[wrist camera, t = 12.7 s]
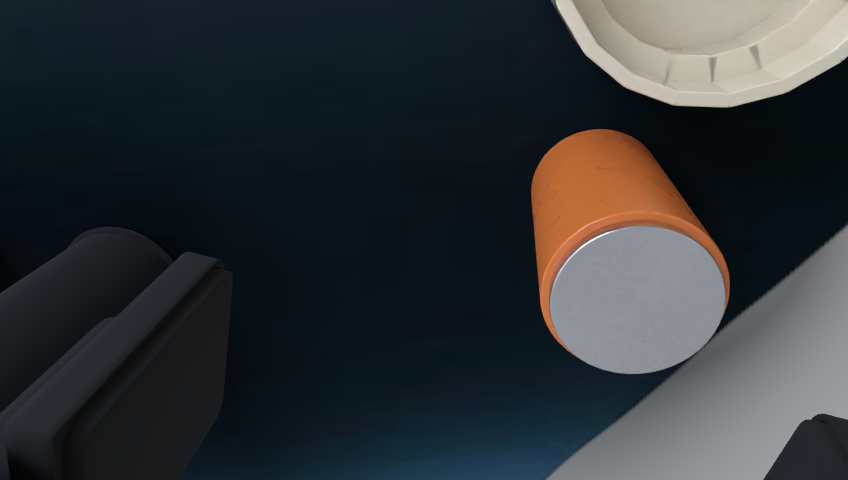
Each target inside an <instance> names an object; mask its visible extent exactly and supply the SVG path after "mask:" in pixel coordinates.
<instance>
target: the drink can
mask: <svg viewBox="0 0 848 480" xmlns="http://www.w3.org/2000/svg"><path fill="white" fill-rule="evenodd" d="M531 197H532V210H533V221H534V233H535V245H536V256H537V268H538V280H539V291H540V303H541V309H542V313H543V316H544V319H545V322H546V324H547V326H548V328H549V329H550V331H551V333H552V334H553V336H554V337H555V338H556V339H557V341H558V342H559V343H560V344H561V345H562V346H563V347H564V348H565V349H567V350H568V351H569V352H571V353H572V354H573V355H575V356H577V357H578V358H580V359H581V360H583V361H585V362H586V363H588V364H590V365H592V366H595V367H597V368H600V369H603V370H606V371H610V372H616V373H624V374H642V373H649V372H655V371H659V370H663V369H666V368H668V367H671V366H674V365H676V364H678V363H680V362H682V361H684V360H686V359H687V358H689V357H690V356H692V355H693V354H694V353H696V352H697V351H698V350H700V349H701V348H702V347H703V346H704V345H705V344H706V343H707V342H708V340H709V339H710V338H711V337H712V335H713V334H714V333H715V331H716V329H717V327H718V326H719V324H720V321H721V319H722V317H723V314H724V312H725V309H726V306H727V302H728V298H729V289H730V281H729V273H728V269H727V265H726V262H725V260H724V257H723V255H722V253H721V252H720V250H719V248H718V247H717V245H716V244H715V242H714V241H713V240H712V238H711V237H710V235H709V234H708V233H707V231H706V230H705V228H704V227H703V226H702V224H701V223H700V221H699V220H698V219H697V217H696V216H695V214H694V213H693V212H692V210H691V209H690V207H689V206H688V204H687V203H686V202H685V200H684V199H683V197H682V196H681V195H680V193H679V192H678V190H677V189H676V188H675V186H674V185H673V183H672V182H671V181H670V179H669V178H668V176H667V175H666V174H665V172H664V171H663V169H662V168H661V167H660V165H659V164H658V162H657V161H656V160H655V158H654V157H653V155H652V154H651V153H650V151H649V150H648V149H647V148H646V147H645V146H644V145H643V144H642V143H640V142H639V141H638V140H636V139H635V138H633V137H631V136H629V135H627V134H625V133H621V132H618V131H614V130H607V129H595V130H587V131H583V132H579V133H576V134H573V135H571V136H569V137H567V138H565V139H563V140H562V141H560V142H559V143H557V144H556V145H555V146H554V147H553V148H551V149H550V150H549V151H548V153H547V154H546V155H545V156H544V157H543V159H542V160H541V162H540V163H539V165H538V167H537V169H536V171H535V174H534V177H533V181H532V188H531Z"/></svg>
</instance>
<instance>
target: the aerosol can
mask: <svg viewBox="0 0 848 480" xmlns="http://www.w3.org/2000/svg"><path fill="white" fill-rule="evenodd" d="M174 262H175V261H174V260H173V259H172V258H171V256H170V255H169V254H168V253H167V252H166V251H165V250H164V249H163V248H161V247H160V246H159V245H158V244H157V243H155V242H154V241H152V240H151V239H149V238H147V237H146V236H144V235H141V234H139V233H137V232H135V231H132V230H128V229H124V228H119V227H102V228H95V229H92V230H89V231H87V232H84V233H83V234H81V235H80V236H78V237H77V238H76V239H75V240H74V241H73V242H72V243H71V244H70V246H69V247H68V249H67V250H65V251H64V252H62V253H61V254H59V255H58V256H56V257H55V258H53V259H52V260H50V261H49V262H47V263H46V264H44V265H43V266H41V267H39V268H38V269H36V270H35V271H33V272H32V273H30V274H29V275H27V276H26V277H24V278H23V279H21V280H20V281H18V282H17V283H15V284H14V285H12V286H11V287H9V288H8V289H6V290H5V291H3V292H2V293H0V413H1V412H2V411H3V410H4V409H6V408H7V407H8V406H9V405H10V404H11V403H12V402H13V401H14V400H15V399H16V398H18V397H19V396H20V395H21V394H22V393H23V392H24V391H25V390H26V389H27V388H28V387H29V386H31V385H32V384H33V383H34V382H35V381H36V380H37V379H38V378H39V377H40V376H41V375H43V374H44V373H45V372H46V371H47V370H48V369H49V368H50V367H51V366H52V365H53V364H55V363H56V362H57V361H58V360H59V359H60V358H61V357H62V356H63V355H64V354H65V353H66V352H68V351H69V350H70V349H71V348H72V347H73V346H74V345H75V344H76V343H77V342H78V341H80V340H81V339H82V338H83V337H84V336H85V335H86V334H87V333H88V332H89V331H90V330H91V329H93V328H94V327H95V326H96V325H97V324H98V323H100V322H101V321H102V320H104V319H105V318H110V317H114V318H115V317H116V316H117V315H118V314H120V313H121V312H122V311H123V310H124V309H125V308H126V307H127V306H128V305H129V304H130V303H131V302H132V301H133V300H134V299H135V298H136V297H138V296H139V295H140V294H141V293H142V292H143V291H144V290H145V289H146V288H147V287H148V286H149V285H150V284H151V283H152V282H153V281H155V280H156V279H157V278H158V277H159V276H160V275H161V274H162V273H163V272H164V271H165V270H166V269H167V268H168V267H169V266H170V265H171V264H173V263H174Z"/></svg>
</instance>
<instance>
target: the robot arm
mask: <svg viewBox="0 0 848 480" xmlns="http://www.w3.org/2000/svg"><path fill="white" fill-rule="evenodd" d="M232 286H233V275H232V273H231V272H229V271H225V270H224V265H223V262H222V261H221V260H218V259H214V258H210V257H206V256H203V255H199V254H195V253H191V252H185V253H184V254H182V255H181V256H180V257H179V258H178V259H177V260H176V261H175V262H174V263H173V264H171V265H170V266H169V267H168V268H167V269H166V270H165V271H164V272H163V273H162V274H161V275H160V276H159V277H158V278H157V279H156V280H155V281H153V282H152V283H151V284H150V285H149V286H148V287H147V288H146V289H145V290H144V291H143V292H142V293H141V294H140V295H139V296H138V297H136V298H135V299H134V300H133V301H132V302H131V303H130V304H129V305H128V306H127V307H126V308H125V309H124V310H123V311H122V312H121V313H120V314H118V315H117V316H116V317H115V318H114V317H110V318H105V319H104V320H102V321H101V322H100V323H98V324H97V325H96V326H95V327H94V328H93V329H91V330H90V331H89V332H88V333H87V334H86V335H85V336H84V337H83V338H82V339H81V340H80V341H78V342H77V343H76V344H75V345H74V346H73V347H72V348H71V349H70V350H69V351H68V352H66V353H65V354H64V355H63V356H62V357H61V358H60V359H59V360H58V361H57V362H56V363H55V364H53V365H52V366H51V367H50V368H49V369H48V370H47V371H46V372H45V373H44V374H43V375H41V376H40V377H39V378H38V379H37V380H36V381H35V382H34V383H33V384H32V385H31V386H29V387H28V388H27V389H26V390H25V391H24V392H23V393H22V394H21V395H20V396H19V397H18V398H16V399H15V400H14V401H13V402H12V403H11V404H10V405H9V406H8V407H7V408H6V409H4V410H3V411H2V412H1V413H0V480H178V479H179V478H180V476H181V475H182V473H183V471H184V470H185V468H186V467H187V465H188V463H189V462H190V460H191V459H192V457H193V455H194V454H195V452H196V451H197V449H198V447H199V446H200V444H201V443H202V441H203V439H204V438H205V436H206V434H207V433H208V431H209V430H210V428H211V426H212V425H213V423H214V422H215V420H216V418H217V416H218V414H219V411H220V408H221V405H222V401H223V393H224V381H225V369H226V357H227V346H228V334H229V322H230V310H231V298H232ZM764 480H848V420H846V419H842V418H838V417H834V416H831V415H827V414H818V415H816V416H815V417H813V418H812V419H811V420H804V421H803V422H801V423H800V425H799V426H798V427H797V429H796V430H795V432H794V433H793V435H792V437H791V438H790V440H789V441H788V443H787V444H786V446H785V447H784V449H783V451H782V452H781V454H780V455H779V457H778V458H777V460H776V461H775V463H774V464H773V466H772V467H771V469H770V471H769V472H768V473H767V475H766V476H765V478H764Z"/></svg>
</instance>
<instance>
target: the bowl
mask: <svg viewBox="0 0 848 480" xmlns="http://www.w3.org/2000/svg"><path fill="white" fill-rule="evenodd" d="M551 2H552V4H553V6H554V7H555V9H556V11H557V12H558V14H559V16H560V17H561V19H562V21H563V22H564V24H565V26H566V27H567V29H568V31H569V33H570V34H571V36H572V38H573V39H574V40H575V42H576V43H577V44H578V46H579V47H580V48H581V50H582V51H583V52H584V53H585V55H586V56H587V57H589V58H590V59H591V60H592V61H593V62H595V63H596V64H597V65H598V66H599V67H600V68H602V69H603V70H604V71H605V72H606V73H608V74H609V75H610V76H611V77H612V78H614V79H615V80H616V81H617V82H618V83H620V84H621V85H622V86H623V87H625V88H627V89H630V90H632V91H635V92H638V93H640V94H643V95H646V96H649V97H651V98H654V99H657V100H659V101H662V102H665V103H667V104H670V105H675V106H694V107H721V108H727V107H734V106H738V105H741V104H745V103H749V102H753V101H757V100H761V99H765V98H769V97H773V96H777V95H781V94H784V93H786V92H789V91H791V90H792V89H794V88H796V87H798V86H799V85H801V84H803V83H805V82H807V81H808V80H810V79H812V78H814V77H815V76H817V75H819V74H821V73H823V72H824V71H826V70H828V69H830V68H832V67H833V66H835V65H837V64H839V63H840V62H841V61H843V60H844V59H845V58H846V57H847V56H848V0H551Z"/></svg>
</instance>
